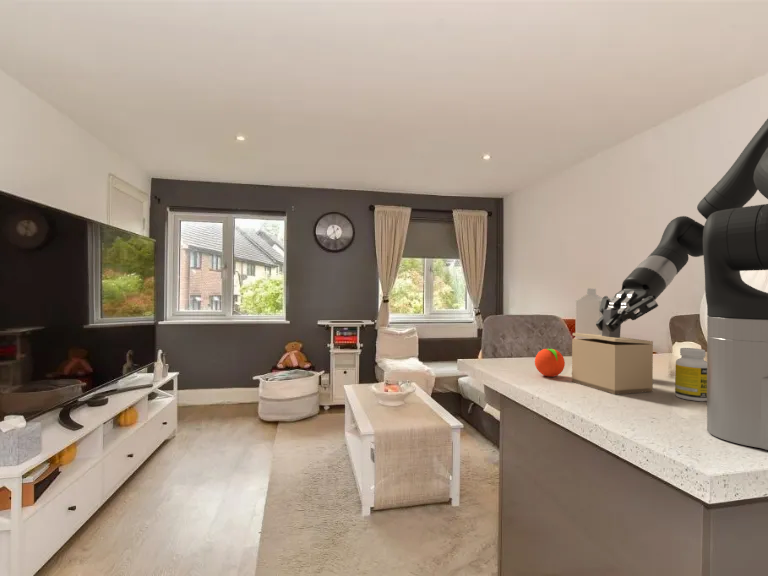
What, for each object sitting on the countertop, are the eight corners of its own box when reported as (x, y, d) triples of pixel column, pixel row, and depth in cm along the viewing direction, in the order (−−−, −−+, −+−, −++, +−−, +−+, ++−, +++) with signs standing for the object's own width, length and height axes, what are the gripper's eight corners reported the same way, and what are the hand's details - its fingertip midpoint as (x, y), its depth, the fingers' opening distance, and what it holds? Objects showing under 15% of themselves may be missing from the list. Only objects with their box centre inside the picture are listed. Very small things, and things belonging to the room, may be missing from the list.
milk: (607, 372, 106) (608, 288, 106) (599, 375, 102) (600, 288, 102) (583, 368, 111) (584, 288, 111) (574, 371, 106) (575, 288, 107)
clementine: (572, 380, 95) (572, 350, 95) (542, 380, 95) (542, 350, 95) (557, 373, 103) (557, 346, 103) (530, 373, 103) (530, 345, 103)
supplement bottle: (705, 403, 76) (705, 351, 76) (671, 397, 80) (671, 348, 80) (712, 399, 80) (712, 349, 80) (679, 393, 84) (679, 346, 84)
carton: (652, 391, 85) (652, 344, 85) (614, 394, 82) (614, 345, 82) (606, 379, 96) (606, 338, 97) (572, 381, 94) (572, 338, 94)
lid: (652, 344, 85) (654, 313, 85) (615, 341, 82) (617, 309, 82) (606, 337, 97) (608, 310, 97) (572, 335, 94) (574, 307, 94)
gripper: (687, 291, 87) (640, 344, 83) (631, 291, 100) (588, 337, 96) (670, 264, 86) (621, 316, 82) (616, 268, 99) (571, 314, 95)
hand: (603, 328), depth 89 cm, fingers closed on lid, 2 cm apart
